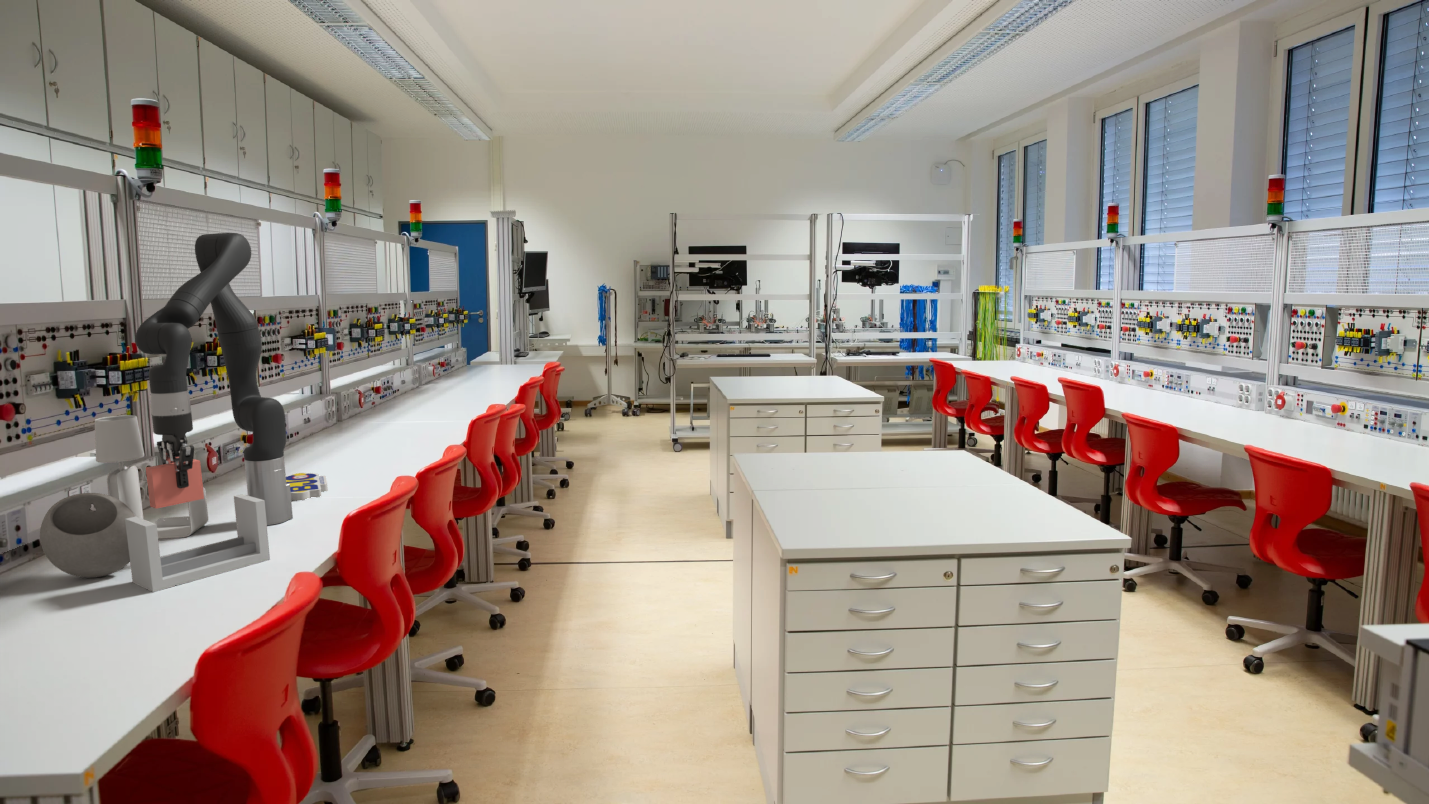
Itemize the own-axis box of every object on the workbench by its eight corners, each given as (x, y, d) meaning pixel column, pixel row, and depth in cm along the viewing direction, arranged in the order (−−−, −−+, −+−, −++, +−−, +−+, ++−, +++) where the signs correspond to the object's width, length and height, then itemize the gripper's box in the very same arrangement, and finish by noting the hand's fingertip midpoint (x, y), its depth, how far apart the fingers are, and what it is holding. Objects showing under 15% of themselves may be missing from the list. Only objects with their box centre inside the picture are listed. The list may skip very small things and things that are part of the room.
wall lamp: (192, 536, 209) (179, 418, 205) (96, 542, 205) (81, 422, 201) (209, 524, 219) (197, 412, 215) (118, 530, 215) (104, 415, 211)
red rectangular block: (198, 496, 195) (194, 459, 194) (204, 498, 194) (200, 460, 192) (150, 506, 187) (145, 467, 186) (155, 508, 186) (151, 469, 184)
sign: (328, 489, 246) (251, 498, 237) (329, 498, 246) (252, 507, 237) (324, 470, 271) (254, 477, 262) (324, 478, 271) (254, 485, 262)
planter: (37, 587, 176) (26, 500, 173) (54, 575, 182) (43, 492, 180) (138, 578, 180) (128, 493, 178) (151, 567, 187) (141, 485, 184)
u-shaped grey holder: (248, 551, 197) (242, 494, 195) (269, 559, 192) (264, 500, 189) (132, 582, 178) (125, 518, 176) (153, 592, 172) (145, 526, 170)
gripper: (203, 412, 187) (211, 487, 189) (176, 406, 195) (183, 479, 198) (166, 416, 181) (175, 494, 183) (139, 411, 189) (147, 485, 191)
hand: (179, 486), depth 190 cm, fingers closed on red rectangular block, 3 cm apart
